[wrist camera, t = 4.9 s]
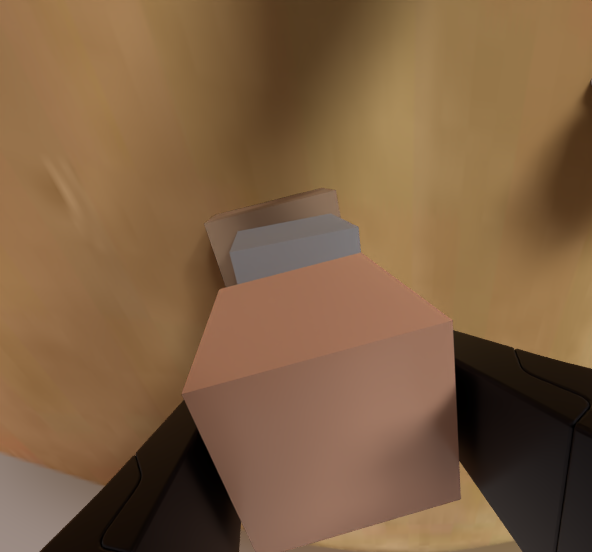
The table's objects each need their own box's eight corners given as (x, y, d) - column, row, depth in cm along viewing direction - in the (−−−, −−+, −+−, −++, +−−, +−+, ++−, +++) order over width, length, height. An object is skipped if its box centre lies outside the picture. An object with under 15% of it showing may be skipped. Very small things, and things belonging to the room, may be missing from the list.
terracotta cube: (361, 252, 9) (452, 320, 5) (379, 369, 10) (460, 499, 6) (219, 289, 9) (181, 394, 5) (259, 402, 10) (258, 558, 6)
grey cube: (330, 213, 15) (358, 227, 11) (341, 298, 17) (369, 337, 13) (237, 231, 15) (229, 252, 11) (258, 315, 17) (258, 362, 12)
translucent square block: (320, 187, 19) (335, 190, 15) (339, 285, 21) (356, 308, 17) (215, 214, 18) (203, 223, 15) (246, 309, 21) (243, 338, 17)
